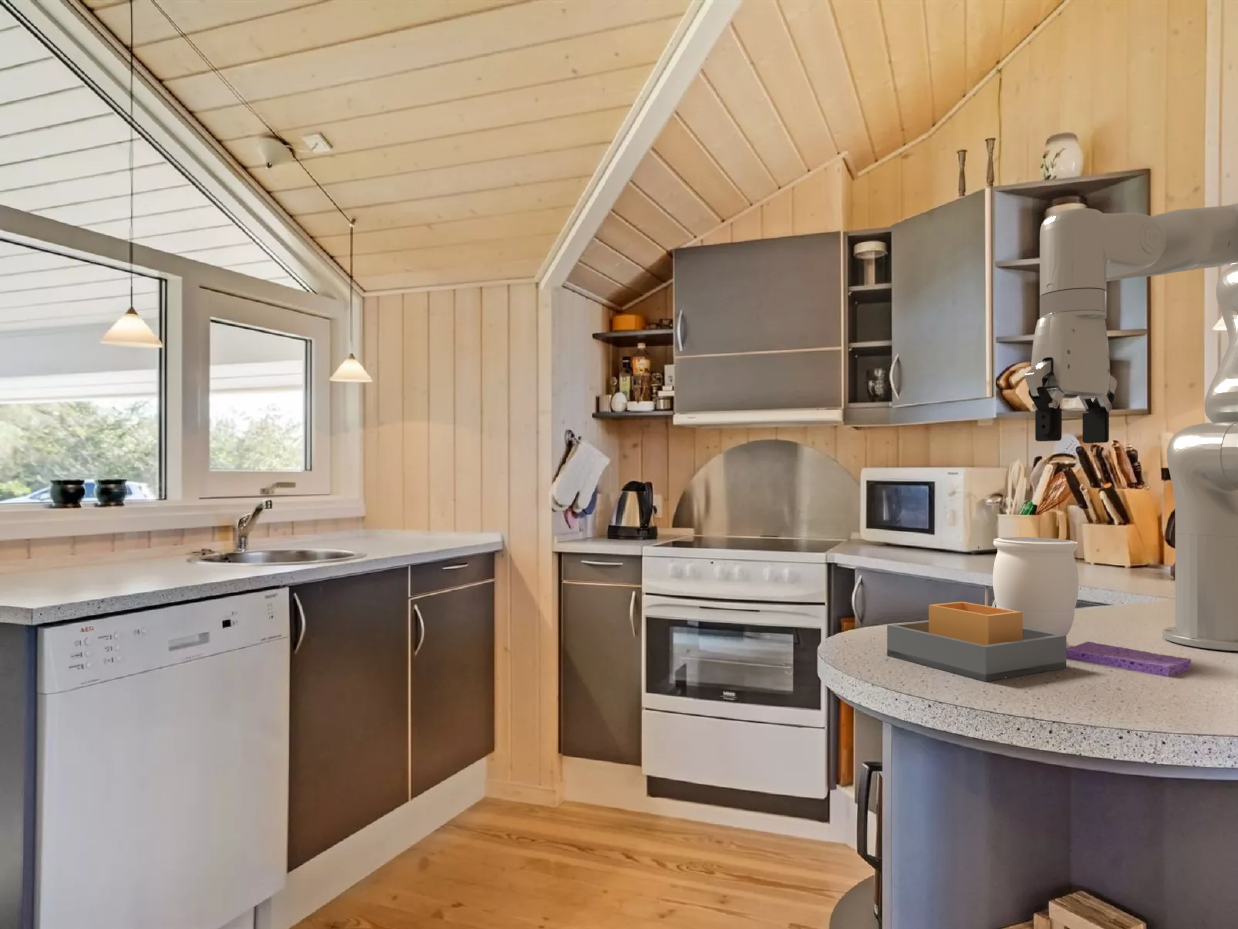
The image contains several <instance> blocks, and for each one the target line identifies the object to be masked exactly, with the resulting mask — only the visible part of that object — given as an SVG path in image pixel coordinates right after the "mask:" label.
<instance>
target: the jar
mask: <svg viewBox="0 0 1238 929" xmlns="http://www.w3.org/2000/svg"><path fill="white" fill-rule="evenodd" d="M992 540H993V541H992V544H993V546H994V547H995V548H996V549H997V553H996V555H995V558H994V564H993V568H992V569H993V570H992V572H993V573H992V586H993V588H992V589H993V596H994V600H995V605H996V606H995V607H996V608H1002V609H1008V610H1014V611H1020V612H1023V627H1024V628H1029V629H1034V630H1039V631H1045V632H1050V633H1055V634H1060V635H1066V636H1067V635H1068V634H1069V633H1070V631H1071V628H1072V626H1073V622H1074V620H1075V611H1076V606H1077V602H1078V598H1079V597H1078V596H1079V585H1080V584H1079V574H1078V573H1079V571H1078V567H1077V561H1076V558H1075V555H1074V553H1075V551H1077V550H1078V548H1079V545H1078V544H1079V543H1078V542H1077V541H1073V540H1070V539H1062V538H1061V539H1060V538H1049V537H1048V538H1047V537H1026V536H1022V537H1021V536H1020V537H1019V536H1016V537H1015V536H1014V537H1013V536H1011V537H1010V536H1008V537H1005V536H1004V537H997V538H993V539H992ZM1068 647H1070V645H1069V642H1068V641H1067V640H1066V648H1068Z"/></svg>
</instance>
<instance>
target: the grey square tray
mask: <svg viewBox="0 0 1238 929" xmlns="http://www.w3.org/2000/svg"><path fill="white" fill-rule="evenodd" d="M886 633H887V634H886V656H887V657H888V656H889V657H891V658H895V659H900V660H902V661H907V662H910V663H915V664H918V665H921V666H925V667H930V668H933V669H936V670H941V671H944V672H948V673H952V674H956V675H960V676H963V677H965V678H966V677H967V678H970V679H975V680H978V681H981V682H993V681H997V680H998V679H999V680H1003V679H1002V678H1004V679H1006V678H1005V677H1010V678H1014V677H1020V676H1025V675H1026V676H1027V675H1033V674H1038V673H1044V672H1051V671H1055V670H1056V671H1057V670H1061V669H1067V658H1066V641H1067V635H1060V634H1055V633H1050V632H1045V631H1039V630H1034V629H1029V628H1024V627H1023V640H1018V641H1011V642H1004V643H996V644H989V645H981V644H977V643H972V642H968V641H963V640H959V639H954V638H950V637H945V636H941V635H936V634H932V633H929V619H927V620H919V621H911V622H901V623H893V624H887V626H886ZM992 680H993V681H992ZM999 680H998V681H999Z"/></svg>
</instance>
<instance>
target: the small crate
mask: <svg viewBox="0 0 1238 929" xmlns="http://www.w3.org/2000/svg"><path fill="white" fill-rule="evenodd" d="M928 620H929V633H932V634H936V635H941V636H945V637H950V638H954V639H959V640H963V641H968V642H972V643H977V644H981V645H989V644H996V643H1004V642H1011V641H1018V640H1023V612H1020V611H1014V610H1008V609H1002V608H996V606H990V605H984V604H978V603H972V602H966V601H953V602H945V603H934V604H928Z"/></svg>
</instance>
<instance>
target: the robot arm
mask: <svg viewBox="0 0 1238 929" xmlns="http://www.w3.org/2000/svg"><path fill="white" fill-rule="evenodd" d="M1225 266H1229V267H1228V268H1226V269H1225V270H1224V271H1223V272H1222V273H1221V274H1220V276H1219V277H1218V280H1217V283H1216V287H1215V288H1216V289H1215V294H1216V295H1215V296H1216V302H1217V303H1218V304H1217V305H1218V307H1219V309H1220V313H1221V316H1222V319H1223V322H1224V325H1225V328H1226V331H1227V333H1228V340H1229V341H1228V345H1227V349H1226V351H1225V354H1224V356H1223V358H1222V359H1221V362H1220V365H1219V366H1218V369H1217V371H1216V372H1215V375H1214V377H1213V379H1212V381H1211V384H1209V388H1208V390H1207V392H1206V396H1205V399H1204V414H1205V416H1206V417H1207V419H1208V420H1210V422H1206V423H1205V422H1204V423H1198V424H1194V425H1190V426H1186V427H1184V428H1182V429H1180V430H1179V431H1177V432H1176V433H1174V435H1172V437H1171V438H1170V440H1169V442H1168V445H1167V448H1166V461H1167V462H1166V463H1167V468H1168V471H1169V475H1170V479H1171V485H1172V486H1171V487H1172V491H1173V499H1174V517H1175V518H1174V520H1175V521H1174V522H1175V526H1174V527H1175V529H1174V534H1175V535H1174V537H1175V538H1174V539H1175V540H1174V550H1175V551H1174V552H1175V553H1174V556H1175V557H1174V558H1175V560H1174V565H1175V566H1174V567H1175V568H1174V574H1175V575H1174V576H1175V577H1174V579H1175V580H1174V581H1175V582H1174V584H1175V585H1174V594H1175V596H1174V597H1175V598H1174V619H1175V620H1174V623H1175V625H1174V626H1171V627H1169V626H1168V627H1165V628H1163V629H1162V638H1164V639H1165V640H1167V641H1169V642H1173V643H1175V644H1180V645H1185V646H1190V647H1194V648H1202V649H1210V650H1218V651H1226V652H1227V651H1231V652H1238V202H1236V203H1232V204H1228V205H1218V206H1211V207H1210V206H1208V207H1196V208H1181V209H1176V210H1172V211H1168V212H1167V211H1166V212H1163V213H1159V214H1155V215H1149V214H1145V213H1140V212H1117V213H1114V212H1113V213H1105V212H1104V213H1103V212H1102V211H1100V210H1099V209H1096V208H1088V207H1085V208H1084V207H1081V208H1080V207H1079V208H1071V209H1066V210H1062V211H1061V210H1060V211H1058V212H1055V213H1053V214H1051V215H1048V216H1047V217H1046V218H1045V219H1044V220H1043V221H1042V223H1041V226H1040V229H1039V319H1037V321H1036V325H1035V331H1034V335H1033V341H1032V351H1031V363H1030V364H1031V365H1030V369H1029V370H1028V371H1026V372H1025V374H1024V379H1025V382H1026V385H1027V389H1028V396H1029V397H1030V399H1031V400H1032V404H1031V406H1032V410H1034V412H1035V414H1034V415H1035V417H1034V420H1035V421H1034V422H1035V424H1034V425H1035V426H1034V427H1035V428H1034V431H1035V432H1034V434H1035V435H1034V440H1035V441H1036V442H1060V441H1062V438H1063V436H1062V434H1063V433H1062V432H1063V430H1062V429H1063V427H1062V426H1063V424H1062V423H1063V422H1062V421H1063V420H1062V419H1063V418H1062V417H1063V414H1062V413H1063V412H1062V411H1063V410H1062V407H1061V408H1058V406H1059V405H1060V403H1061V401H1062V400H1063V399H1069V400H1070V399H1076V398H1079V400H1080V402H1081V404H1082V406H1083V408H1084V410H1085V412H1083V413H1082V443H1084V444H1104V443H1108V442H1109V441H1110V412H1112V403H1113V401H1115V392H1116V389H1117V386H1118V381H1117V379H1116V378H1115V377H1114V376H1113V375H1111V369H1110V367H1111V365H1110V364H1111V363H1110V349H1109V337H1108V331H1107V330H1108V329H1107V325H1106V319H1107V318H1108V317H1107V315H1108V314H1107V308H1108V307H1107V302H1108V300H1107V288H1108V287H1107V286H1108V285H1107V282H1112V281H1119V280H1127V279H1134V278H1143V277H1144V278H1145V277H1154V276H1161V275H1162V276H1163V275H1166V274H1174V273H1181V272H1187V271H1193V270H1199V269H1200V270H1201V269H1208V268H1209V269H1211V268H1216V267H1217V268H1218V267H1225ZM1092 399H1093V400H1092Z"/></svg>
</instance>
